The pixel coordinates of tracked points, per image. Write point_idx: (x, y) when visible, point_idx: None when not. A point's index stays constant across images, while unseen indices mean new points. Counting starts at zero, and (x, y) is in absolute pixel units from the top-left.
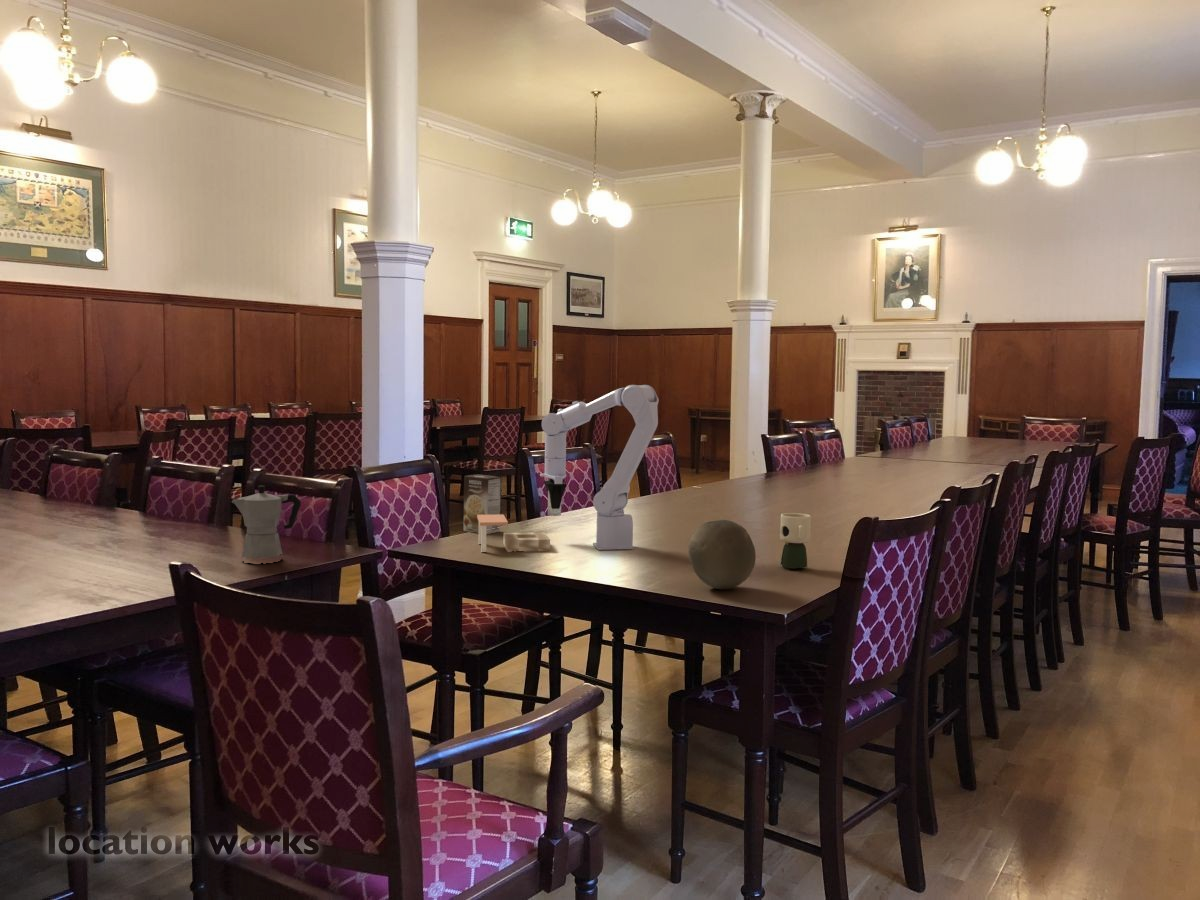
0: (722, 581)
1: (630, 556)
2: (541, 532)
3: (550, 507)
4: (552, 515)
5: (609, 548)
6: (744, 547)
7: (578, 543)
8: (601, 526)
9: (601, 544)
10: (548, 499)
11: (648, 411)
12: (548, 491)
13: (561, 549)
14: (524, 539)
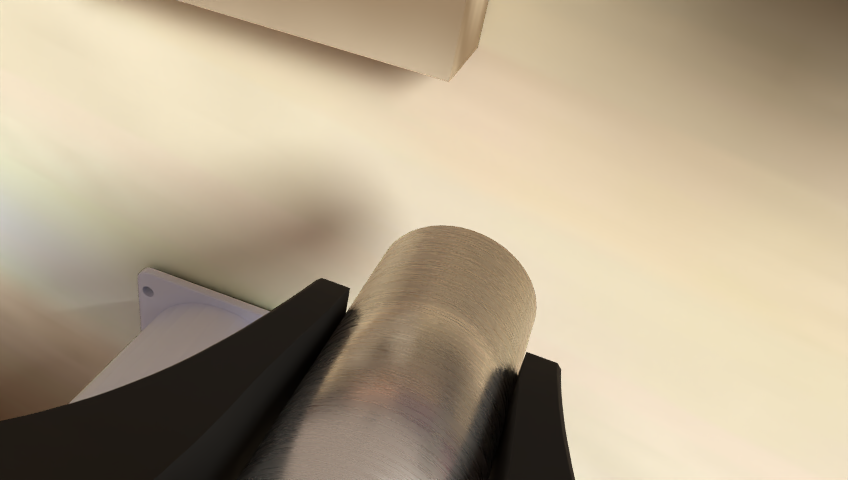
0: None
1: (4, 315)
2: (445, 46)
3: (374, 292)
4: (390, 248)
5: (142, 323)
6: None
7: None
8: (83, 396)
9: (163, 315)
10: (377, 361)
11: None
12: (331, 472)
13: (201, 69)
14: None
